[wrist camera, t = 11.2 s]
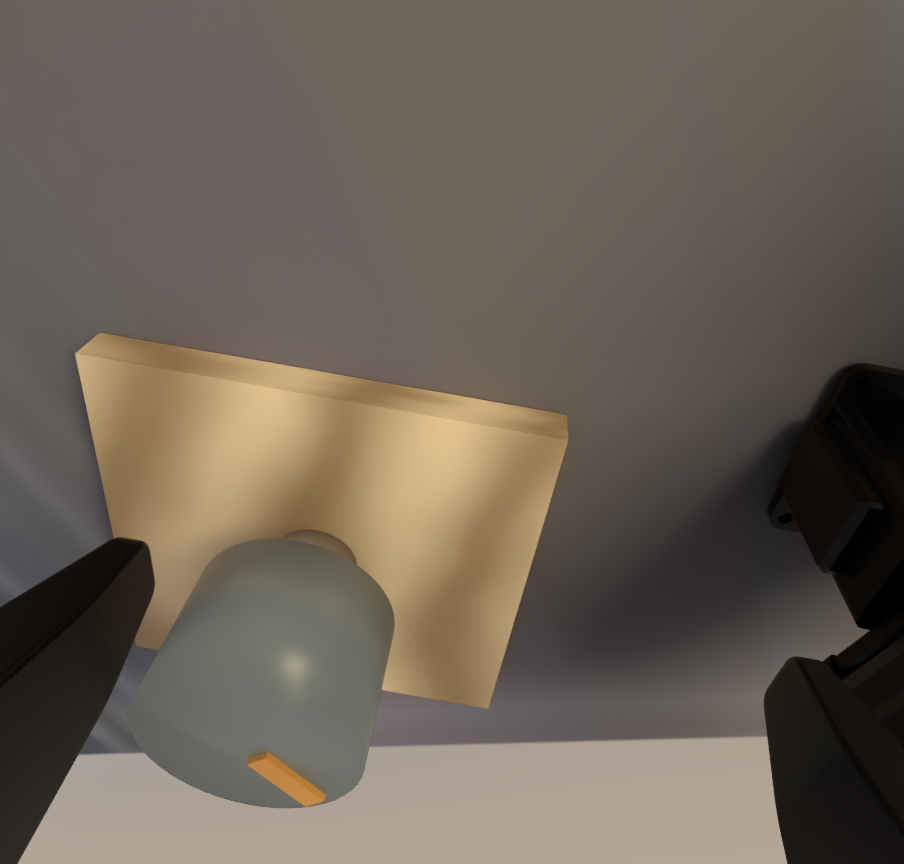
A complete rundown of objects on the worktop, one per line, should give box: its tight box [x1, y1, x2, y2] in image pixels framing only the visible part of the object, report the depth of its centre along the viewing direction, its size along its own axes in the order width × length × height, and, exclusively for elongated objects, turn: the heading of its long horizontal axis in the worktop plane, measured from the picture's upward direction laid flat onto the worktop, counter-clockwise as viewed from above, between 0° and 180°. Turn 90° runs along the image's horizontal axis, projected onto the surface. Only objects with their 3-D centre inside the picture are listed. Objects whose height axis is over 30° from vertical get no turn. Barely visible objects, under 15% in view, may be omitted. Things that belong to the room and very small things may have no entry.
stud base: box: [75, 333, 568, 709], centre depth 25 cm, size 16×15×4 cm
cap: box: [127, 539, 395, 808], centre depth 21 cm, size 7×7×5 cm
